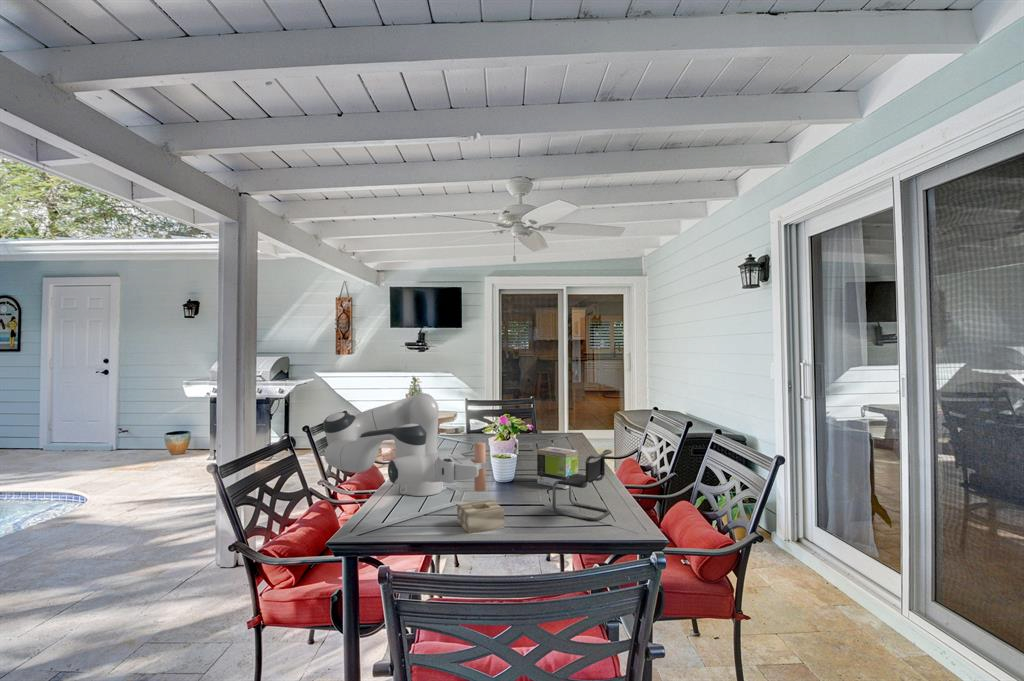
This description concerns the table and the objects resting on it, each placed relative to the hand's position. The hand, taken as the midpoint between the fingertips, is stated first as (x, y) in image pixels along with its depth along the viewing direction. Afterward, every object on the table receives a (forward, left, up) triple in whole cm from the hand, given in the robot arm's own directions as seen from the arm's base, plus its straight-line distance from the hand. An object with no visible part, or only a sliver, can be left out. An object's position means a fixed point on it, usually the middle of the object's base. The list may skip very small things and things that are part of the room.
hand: (482, 463), depth 169 cm
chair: (+2, +36, -20) cm, 42 cm away
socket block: (0, -1, -20) cm, 20 cm away
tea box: (-35, +46, -20) cm, 61 cm away
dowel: (0, -1, -9) cm, 9 cm away
